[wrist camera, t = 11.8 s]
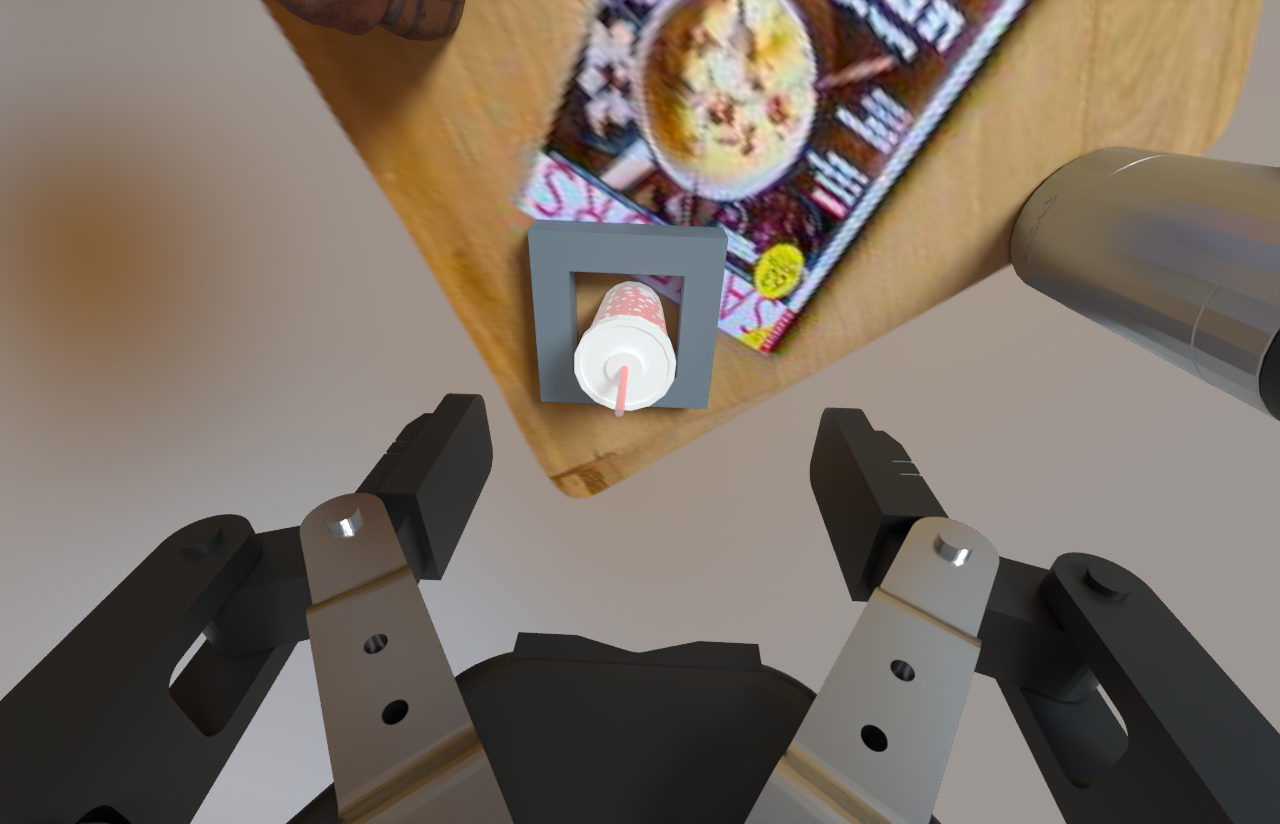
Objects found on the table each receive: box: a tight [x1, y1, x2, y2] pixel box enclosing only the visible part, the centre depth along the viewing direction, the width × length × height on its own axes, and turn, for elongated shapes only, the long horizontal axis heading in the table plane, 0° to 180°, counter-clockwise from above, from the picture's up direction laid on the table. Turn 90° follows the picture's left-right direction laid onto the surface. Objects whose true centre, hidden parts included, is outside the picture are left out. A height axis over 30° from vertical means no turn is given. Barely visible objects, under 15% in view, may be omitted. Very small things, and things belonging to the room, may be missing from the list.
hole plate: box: [528, 220, 728, 409], centre depth 37 cm, size 13×13×3 cm
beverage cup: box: [574, 281, 676, 416], centre depth 32 cm, size 6×6×14 cm
